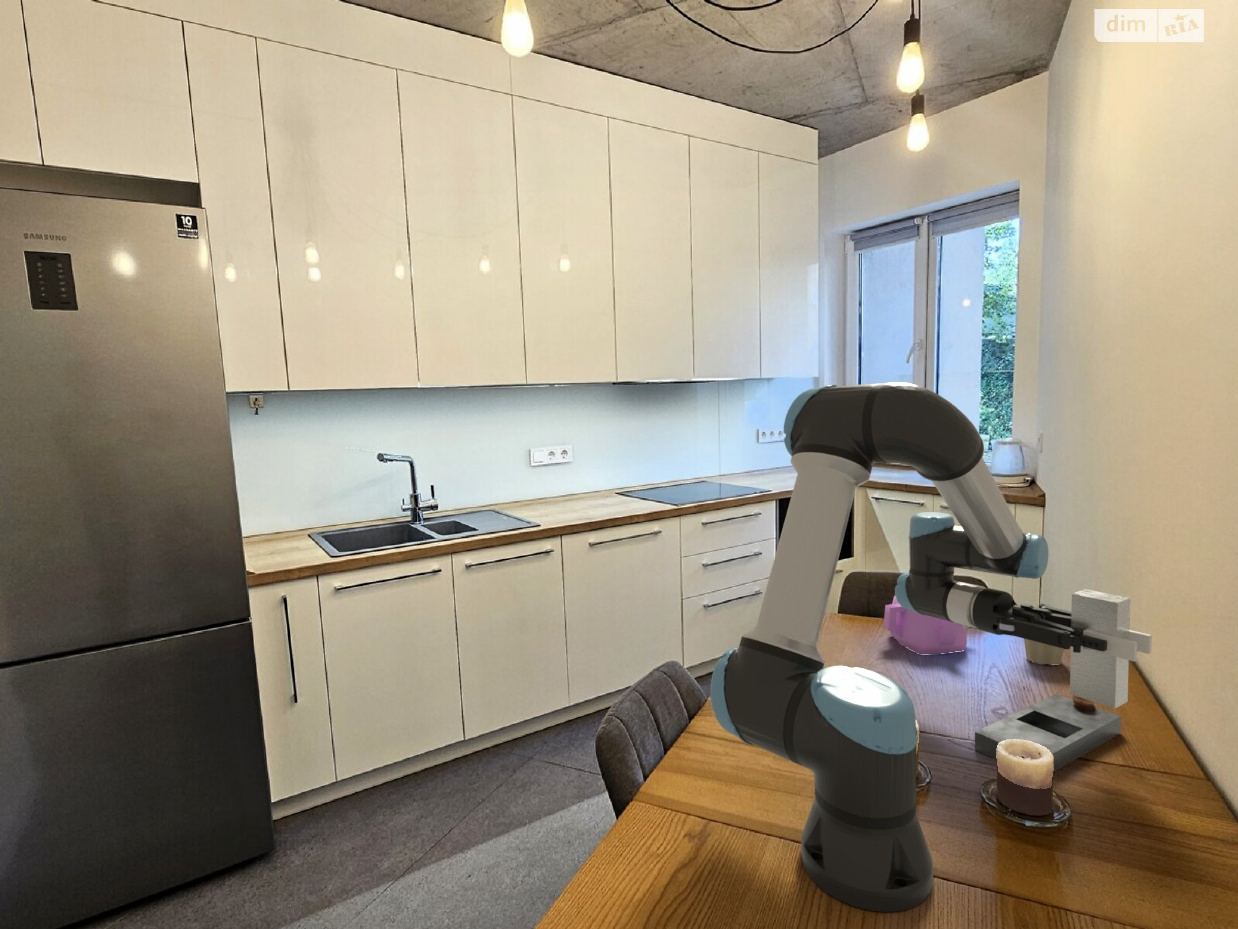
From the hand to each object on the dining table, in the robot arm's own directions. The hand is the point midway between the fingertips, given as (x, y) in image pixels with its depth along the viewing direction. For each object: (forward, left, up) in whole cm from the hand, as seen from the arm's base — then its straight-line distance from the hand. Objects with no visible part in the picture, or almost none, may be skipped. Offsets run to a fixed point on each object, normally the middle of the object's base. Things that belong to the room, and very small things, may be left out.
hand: (1142, 648), depth 93 cm
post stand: (+6, +11, -20) cm, 23 cm away
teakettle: (+44, +32, -20) cm, 58 cm away
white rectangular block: (+3, +5, -9) cm, 11 cm away
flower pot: (+43, +10, -20) cm, 48 cm away
